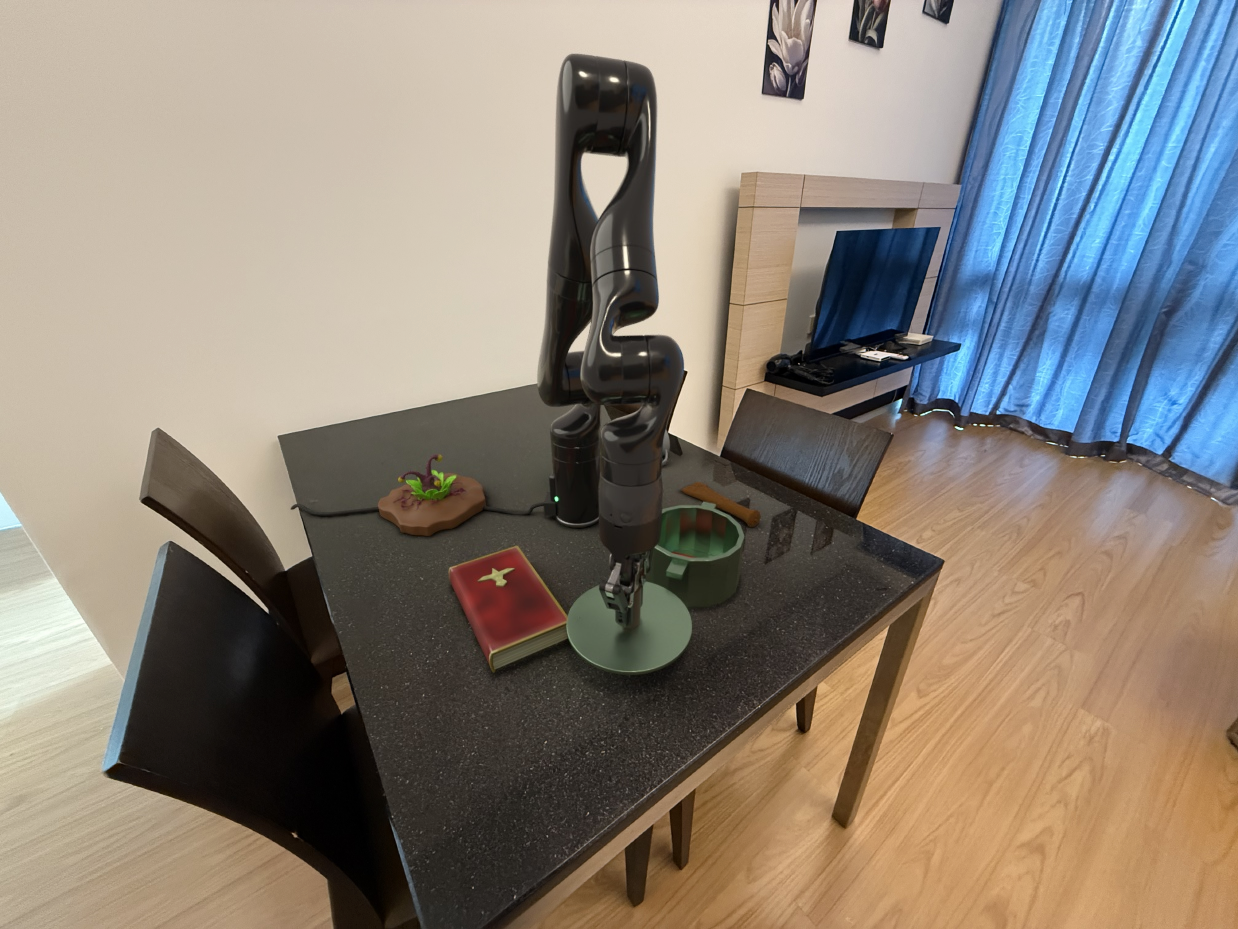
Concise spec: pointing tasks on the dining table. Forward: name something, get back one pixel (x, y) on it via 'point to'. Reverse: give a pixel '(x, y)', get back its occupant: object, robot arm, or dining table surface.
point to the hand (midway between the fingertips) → (629, 614)
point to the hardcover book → (508, 606)
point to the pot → (698, 554)
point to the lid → (630, 631)
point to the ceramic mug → (666, 447)
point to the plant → (432, 501)
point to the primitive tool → (723, 503)
